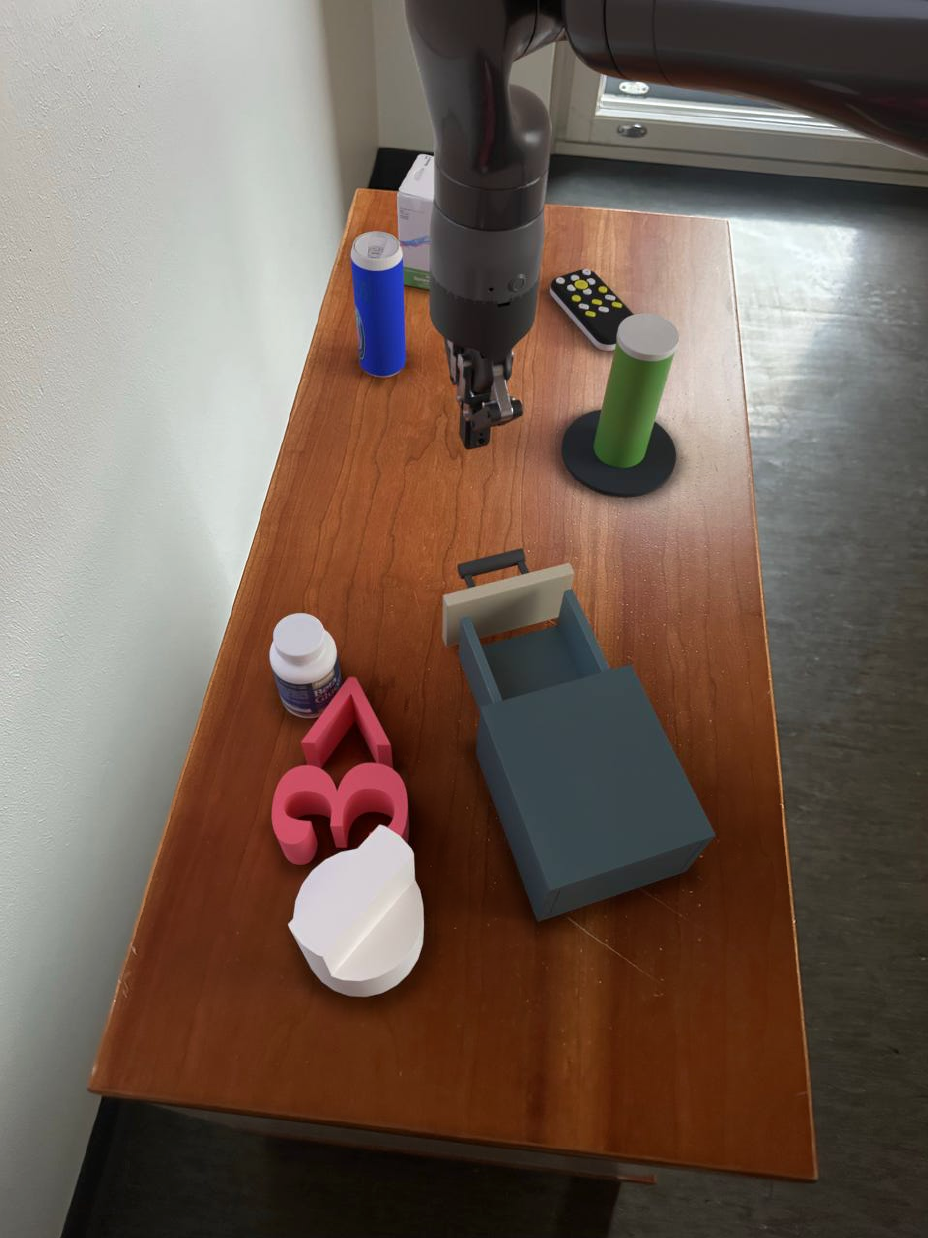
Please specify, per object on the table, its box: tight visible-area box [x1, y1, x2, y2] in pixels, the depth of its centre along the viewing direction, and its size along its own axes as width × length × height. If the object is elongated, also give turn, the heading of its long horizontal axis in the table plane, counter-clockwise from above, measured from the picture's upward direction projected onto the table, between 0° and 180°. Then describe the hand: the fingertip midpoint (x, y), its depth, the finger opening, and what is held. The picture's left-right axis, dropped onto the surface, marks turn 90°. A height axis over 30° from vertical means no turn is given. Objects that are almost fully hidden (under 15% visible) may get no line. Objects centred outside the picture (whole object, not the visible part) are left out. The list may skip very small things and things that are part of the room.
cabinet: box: [475, 663, 716, 923], centre depth 69 cm, size 15×13×9 cm
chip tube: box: [594, 313, 681, 468], centre depth 87 cm, size 6×6×15 cm
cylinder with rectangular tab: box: [287, 824, 425, 998], centre depth 62 cm, size 9×9×12 cm
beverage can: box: [350, 230, 407, 379], centre depth 94 cm, size 5×5×15 cm
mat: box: [560, 409, 677, 498], centre depth 94 cm, size 12×12×1 cm
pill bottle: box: [269, 612, 343, 719], centre depth 74 cm, size 5×5×10 cm
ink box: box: [396, 153, 434, 291], centre depth 104 cm, size 8×5×12 cm, turn 164°
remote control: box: [549, 268, 635, 352], centre depth 105 cm, size 6×13×2 cm, turn 28°
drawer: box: [441, 547, 612, 713], centre depth 76 cm, size 18×11×7 cm, turn 18°
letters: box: [271, 676, 410, 866], centre depth 71 cm, size 14×10×5 cm
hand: (474, 441), depth 74 cm, fingers closed
